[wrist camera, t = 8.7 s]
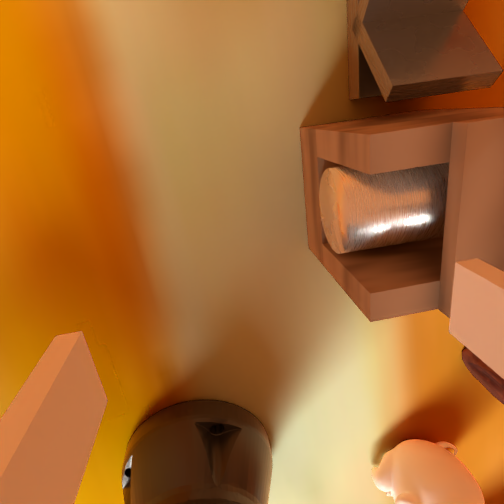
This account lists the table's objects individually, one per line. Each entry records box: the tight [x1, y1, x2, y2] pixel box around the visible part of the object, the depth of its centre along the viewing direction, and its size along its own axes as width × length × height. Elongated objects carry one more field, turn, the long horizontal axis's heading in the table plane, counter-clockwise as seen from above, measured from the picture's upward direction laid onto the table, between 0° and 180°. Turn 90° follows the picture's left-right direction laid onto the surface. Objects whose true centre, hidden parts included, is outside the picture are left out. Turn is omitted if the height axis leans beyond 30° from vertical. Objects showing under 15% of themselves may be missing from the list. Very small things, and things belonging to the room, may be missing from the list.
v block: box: [347, 0, 503, 102], centre depth 22 cm, size 7×10×6 cm
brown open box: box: [300, 107, 504, 322], centre depth 23 cm, size 10×10×13 cm
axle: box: [319, 162, 450, 254], centre depth 23 cm, size 18×6×6 cm, turn 96°
